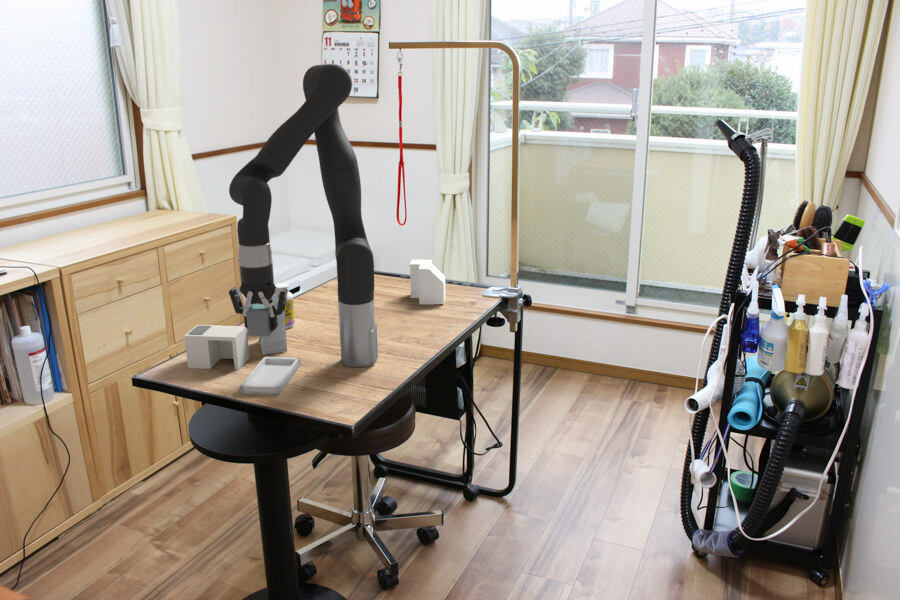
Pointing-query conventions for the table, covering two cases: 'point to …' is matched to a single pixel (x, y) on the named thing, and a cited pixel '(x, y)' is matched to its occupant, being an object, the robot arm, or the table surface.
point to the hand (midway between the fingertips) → (261, 329)
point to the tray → (270, 375)
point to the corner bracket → (427, 282)
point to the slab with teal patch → (261, 319)
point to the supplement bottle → (287, 305)
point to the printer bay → (216, 345)
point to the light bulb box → (274, 340)
